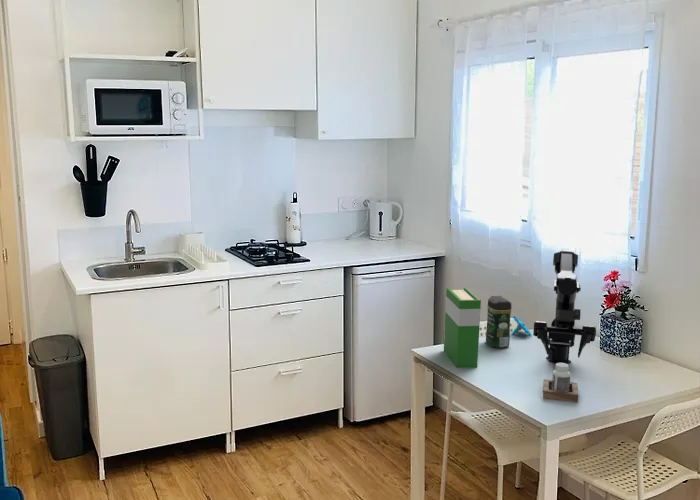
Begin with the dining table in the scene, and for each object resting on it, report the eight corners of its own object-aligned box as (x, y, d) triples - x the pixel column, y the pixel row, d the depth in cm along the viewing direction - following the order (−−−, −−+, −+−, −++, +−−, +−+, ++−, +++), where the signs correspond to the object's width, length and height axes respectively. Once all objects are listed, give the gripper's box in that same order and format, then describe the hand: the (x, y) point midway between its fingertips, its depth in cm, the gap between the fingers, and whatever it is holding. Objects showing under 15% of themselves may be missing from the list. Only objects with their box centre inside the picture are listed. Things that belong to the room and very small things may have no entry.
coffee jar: (482, 341, 278) (485, 294, 275) (502, 340, 280) (504, 293, 276) (491, 349, 269) (494, 301, 265) (512, 348, 270) (515, 300, 267)
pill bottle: (572, 394, 228) (574, 364, 226) (563, 398, 224) (565, 368, 222) (556, 389, 231) (558, 360, 229) (547, 393, 228) (550, 364, 226)
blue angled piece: (533, 335, 281) (515, 316, 282) (521, 345, 282) (504, 326, 283) (532, 331, 291) (515, 312, 293) (521, 340, 293) (504, 321, 294)
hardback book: (443, 350, 266) (446, 287, 262) (463, 350, 267) (466, 287, 263) (456, 367, 249) (459, 300, 244) (477, 367, 250) (480, 300, 245)
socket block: (542, 387, 234) (543, 379, 233) (576, 391, 231) (577, 382, 231) (542, 400, 224) (543, 390, 223) (577, 404, 221) (578, 395, 221)
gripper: (535, 296, 228) (533, 340, 219) (598, 301, 223) (597, 346, 215) (534, 313, 237) (531, 356, 228) (594, 318, 232) (593, 362, 224)
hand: (563, 355), depth 223 cm, fingers open, 9 cm apart
